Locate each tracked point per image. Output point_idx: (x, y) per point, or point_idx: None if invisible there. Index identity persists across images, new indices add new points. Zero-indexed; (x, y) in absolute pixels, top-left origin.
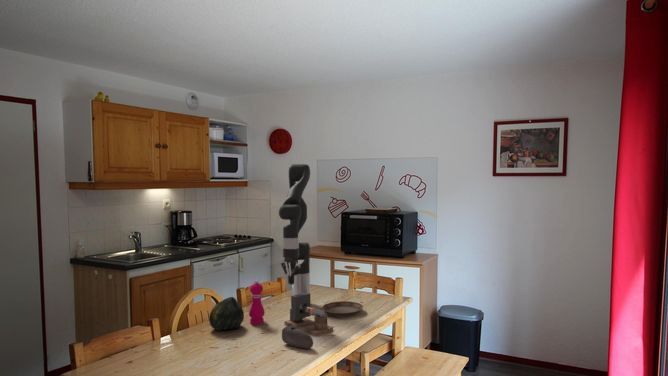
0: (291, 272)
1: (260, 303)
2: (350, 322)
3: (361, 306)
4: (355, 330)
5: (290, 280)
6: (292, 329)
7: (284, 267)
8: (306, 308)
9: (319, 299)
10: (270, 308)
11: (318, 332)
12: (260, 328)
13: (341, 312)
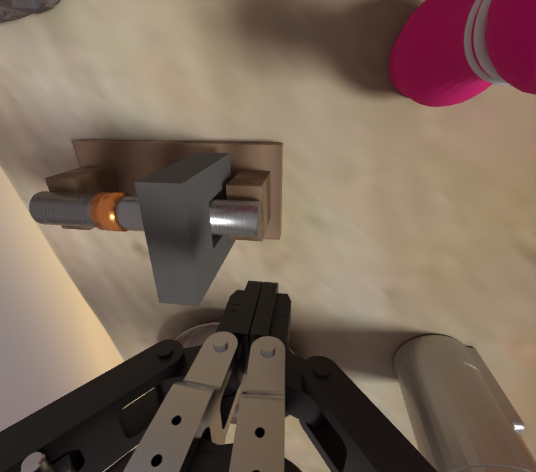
0: (186, 378)
1: (445, 53)
2: (144, 310)
3: None
4: (73, 267)
5: (241, 303)
6: None
7: (369, 466)
8: (135, 204)
9: None
10: (530, 258)
11: (77, 153)
12: (331, 6)
13: None
